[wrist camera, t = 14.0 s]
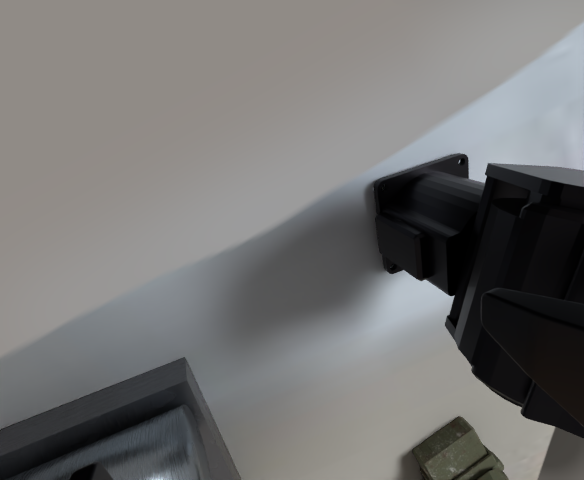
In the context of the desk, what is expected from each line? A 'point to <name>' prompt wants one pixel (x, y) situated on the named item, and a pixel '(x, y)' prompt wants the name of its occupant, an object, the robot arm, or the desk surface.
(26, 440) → the motor mount
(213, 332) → the desk surface
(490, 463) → the mechanical leg
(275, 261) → the desk surface
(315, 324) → the desk surface
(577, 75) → the desk surface
